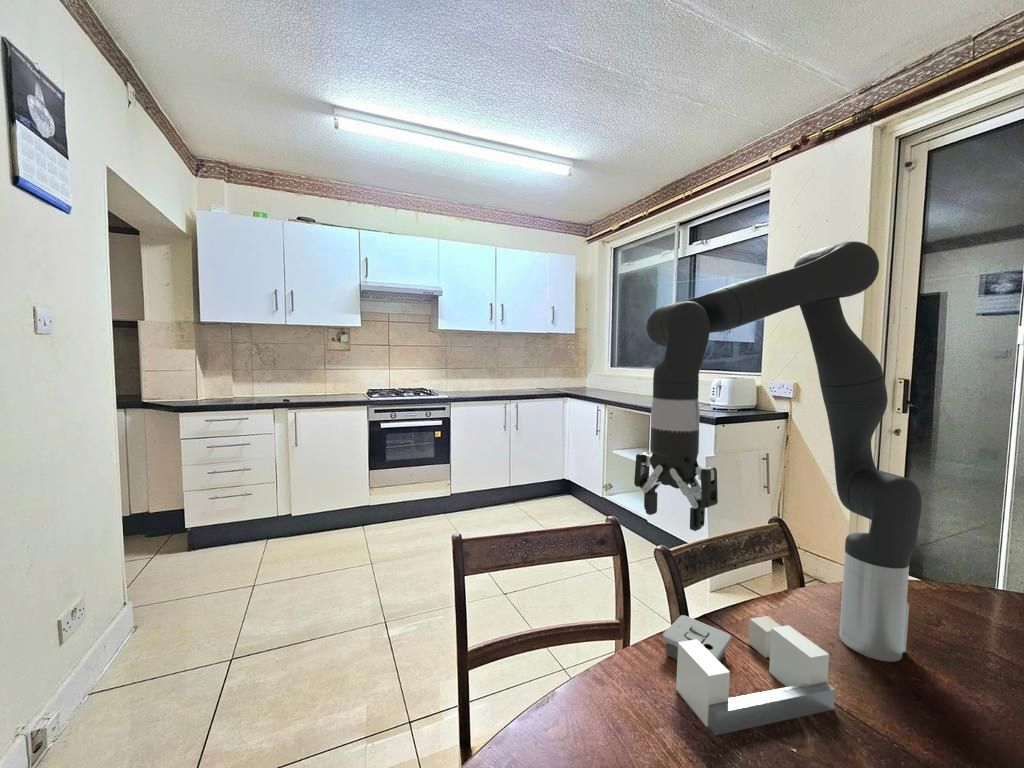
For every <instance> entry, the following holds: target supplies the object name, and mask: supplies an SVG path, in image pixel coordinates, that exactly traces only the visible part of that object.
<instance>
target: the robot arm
mask: <svg viewBox="0 0 1024 768" xmlns="http://www.w3.org/2000/svg"><path fill="white" fill-rule="evenodd" d="M879 271H880V261H879V257H878V254H877V252H876V251H875V250H874V249H873V247H871V246H870V245H868V243H864V242H862V241H854V240H853V241H843V242H839V243H834V244H831V245H828V246H825V247H821V248H818V249H814V250H811V251H807V252H806V253H804V254H802V255H801V256H799V257H798V259H797V260H796V261H795V264H794V265H793V267H792V268H787V269H785V270H782V271H777V272H772V273H769V274H766V275H760V276H756V277H752V278H749V279H746V280H742V281H739V282H736V283H733V284H730V285H726V286H723V287H721V288H718V289H715V290H712V291H710V292H708V293H705V294H703V295H700V296H696V297H692V298H687V299H684V300H680V301H675V302H673V303H668V304H666V305H662V306H659V307H657V308H656V309H655V310H654V311H653V312H652V313H651V314H650V315H649V318H648V319H647V322H646V333H647V336H648V338H649V339H650V340H651V341H652V342H653V343H655V344H656V345H658V346H660V347H664V348H666V349H665V353H664V357H663V358H664V359H663V361H662V362H660V363H658V364H657V365H655V367H654V369H653V377H652V379H653V380H652V381H653V382H652V403H651V409H650V445H649V446H650V448H649V449H650V451H651V453H652V454H651V453H650V452H648V451H647V452H641V453H637V454H636V455H635V466H634V467H635V468H634V479H633V480H634V482H633V483H634V485H635V487H637V488H638V487H639V488H640V489H642V491H643V497H644V498H643V502H644V503H643V507H644V510H645V513H646V515H649V516H652V515H655V514H657V512H658V491H657V489H658V488H659V487H660V485H664V486H670V487H672V488H674V489H679V490H680V492H681V493H682V495H683V496H685V497H686V499H687V501H688V503H689V505H690V506H691V507H689V508H690V509H689V529H690V530H691V531H694V532H696V531H699V530H701V528H703V527H704V526H705V521H706V520H705V518H706V516H705V515H706V509H707V508H711V507H714V506H716V505H718V503H719V502H718V499H719V498H718V495H719V494H718V471H717V468H716V467H715V466H709V467H705V466H700V465H699V464H698V460H697V459H698V456H699V451H700V450H699V448H700V447H699V445H700V406H699V390H700V389H699V387H700V385H699V384H700V383H699V381H700V378H699V377H700V371H701V367H702V364H703V362H704V358H705V354H706V350H707V346H708V343H709V338H710V334H711V333H721V332H725V331H729V330H733V329H736V328H739V327H742V326H744V325H748V324H750V323H753V322H756V321H759V320H761V319H765V318H767V317H769V316H771V315H775V314H778V313H780V312H782V311H783V312H784V311H786V310H788V309H792V308H794V307H797V306H799V308H800V311H801V313H802V317H803V319H804V322H805V325H806V328H807V331H808V336H809V340H810V343H811V348H812V351H813V355H814V360H815V363H816V367H817V375H818V380H819V385H820V390H821V394H822V399H823V403H824V407H825V411H826V416H827V420H828V427H829V433H830V437H831V443H832V451H833V458H834V459H833V461H834V462H833V463H834V473H835V474H834V475H835V485H836V491H837V495H838V498H839V500H840V503H841V504H842V505H843V507H845V508H846V510H849V512H851V513H853V514H856V515H858V516H861V517H863V518H865V519H868V520H871V523H870V529H869V531H868V532H853V533H850V534H847V536H846V537H845V543H844V557H843V571H842V572H843V573H842V586H841V587H842V588H841V604H840V617H839V619H840V620H839V631H838V632H839V633H838V637H839V639H840V640H841V642H842V643H844V645H845V646H847V647H848V648H850V649H851V650H853V651H854V652H856V653H859V654H860V655H863V656H865V657H866V658H870V659H873V660H878V661H881V662H891V663H892V662H893V663H895V662H898V661H901V660H902V658H903V653H906V652H907V651H906V650H907V639H908V638H907V637H908V628H909V627H908V623H909V614H910V613H909V611H910V603H909V602H908V601H907V599H908V587H909V572H910V570H909V569H910V560H911V556H912V555H913V553H914V551H915V548H916V546H917V539H918V535H919V534H918V532H919V527H920V526H919V525H920V520H921V513H922V502H923V501H922V495H921V491H920V489H919V487H918V485H917V484H916V482H914V481H913V480H912V479H909V478H907V477H904V476H902V475H897V474H893V473H891V472H890V473H889V472H886V471H883V470H879V469H877V467H876V465H875V461H874V457H873V451H872V438H873V435H874V433H875V432H876V430H877V427H878V426H879V425H880V422H881V421H882V419H883V417H884V415H885V413H886V410H887V406H888V401H889V400H888V392H887V391H888V390H887V386H886V381H885V376H884V371H883V368H882V365H881V363H880V361H879V360H878V359H877V357H876V355H875V354H874V353H873V352H872V351H871V350H870V348H869V347H868V346H867V345H866V344H865V343H864V342H863V341H862V340H861V339H860V337H859V336H858V335H857V334H856V333H855V332H854V330H853V329H852V328H851V327H850V325H849V324H848V322H847V320H846V317H845V315H844V312H843V308H842V305H841V300H840V299H841V298H843V299H844V298H848V297H852V296H855V295H859V294H861V293H862V292H864V291H866V290H867V289H869V287H871V286H872V285H873V283H875V281H876V279H877V277H878V274H879ZM650 467H652V470H653V472H652V473H651V474H650ZM697 475H698V479H697V478H696V477H697ZM698 480H699V481H700V484H699V481H698ZM689 485H690V487H689Z"/></svg>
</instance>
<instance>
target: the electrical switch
mask: <svg viewBox="0 0 1024 768" xmlns="http://www.w3.org/2000/svg"><path fill="white" fill-rule="evenodd" d="M661 639H662V641H663V642H664V643H666V645H665V646H666V653H665V654H666V656H668V657H671V658H672V659H674V660H676V661H677V657H678V642H684V641H690V640H696V639H697V640H698V641H699V642H700V643H701V644H702V645H703V646H704V647H705V648H706V649H707V650H708V651H709V652H710V653H711V654H712V655H713V656H714V657H715V658H716V659H717V660H718V661H719V662H720V663H721V662H722V660H723V659H724V658H725V656H726V649H728V647H729V646H730V644H731V643H732V636H731V634H730V633H728V632H726V631H723V630H720V629H719V628H716V627H714V626H712V625H710V624H709V625H708V624H706V623H703V622H701V621H699V620H697V619H695V618H692V617H691V616H687V615H684V614H683V615H682V614H681V615H680V616H679V617H678V618H677V619H676V620H675V621H674V622H673V623H672V624H671V625H670V626H669V627H668V628H667V629H666V630H665V631H664V632H663V633H662V637H661Z"/></svg>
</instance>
